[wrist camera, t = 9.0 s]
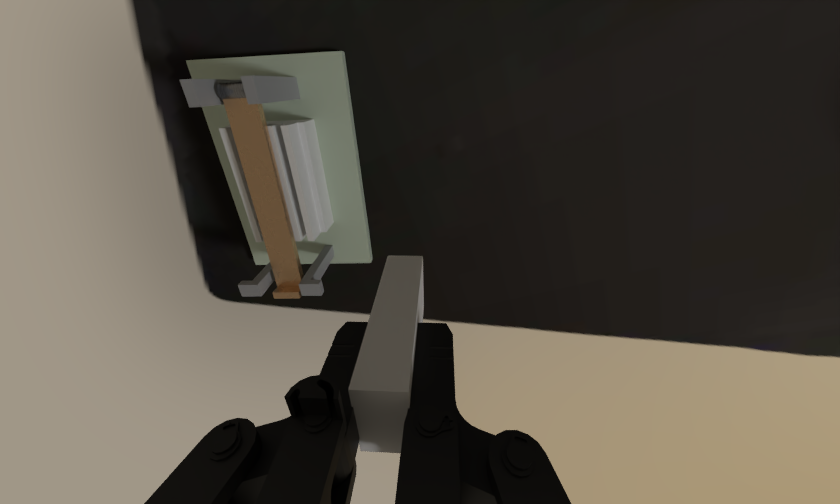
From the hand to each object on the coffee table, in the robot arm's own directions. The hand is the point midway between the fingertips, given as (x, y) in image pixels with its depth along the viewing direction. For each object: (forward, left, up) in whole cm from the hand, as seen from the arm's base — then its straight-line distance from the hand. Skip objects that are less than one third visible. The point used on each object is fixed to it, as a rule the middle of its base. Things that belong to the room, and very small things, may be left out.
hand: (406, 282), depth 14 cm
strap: (+2, -16, -19) cm, 25 cm away
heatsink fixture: (+1, -16, -26) cm, 30 cm away
